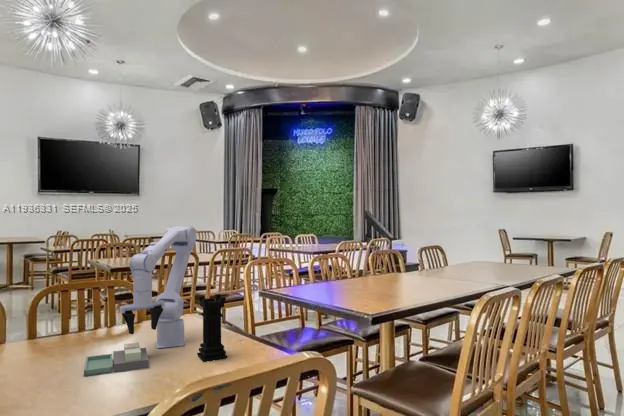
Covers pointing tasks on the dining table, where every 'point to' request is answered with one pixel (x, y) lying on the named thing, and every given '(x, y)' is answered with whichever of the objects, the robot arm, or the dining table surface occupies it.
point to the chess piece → (212, 329)
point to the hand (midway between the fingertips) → (142, 331)
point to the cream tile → (131, 346)
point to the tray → (98, 365)
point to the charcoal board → (132, 365)
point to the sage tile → (132, 354)
